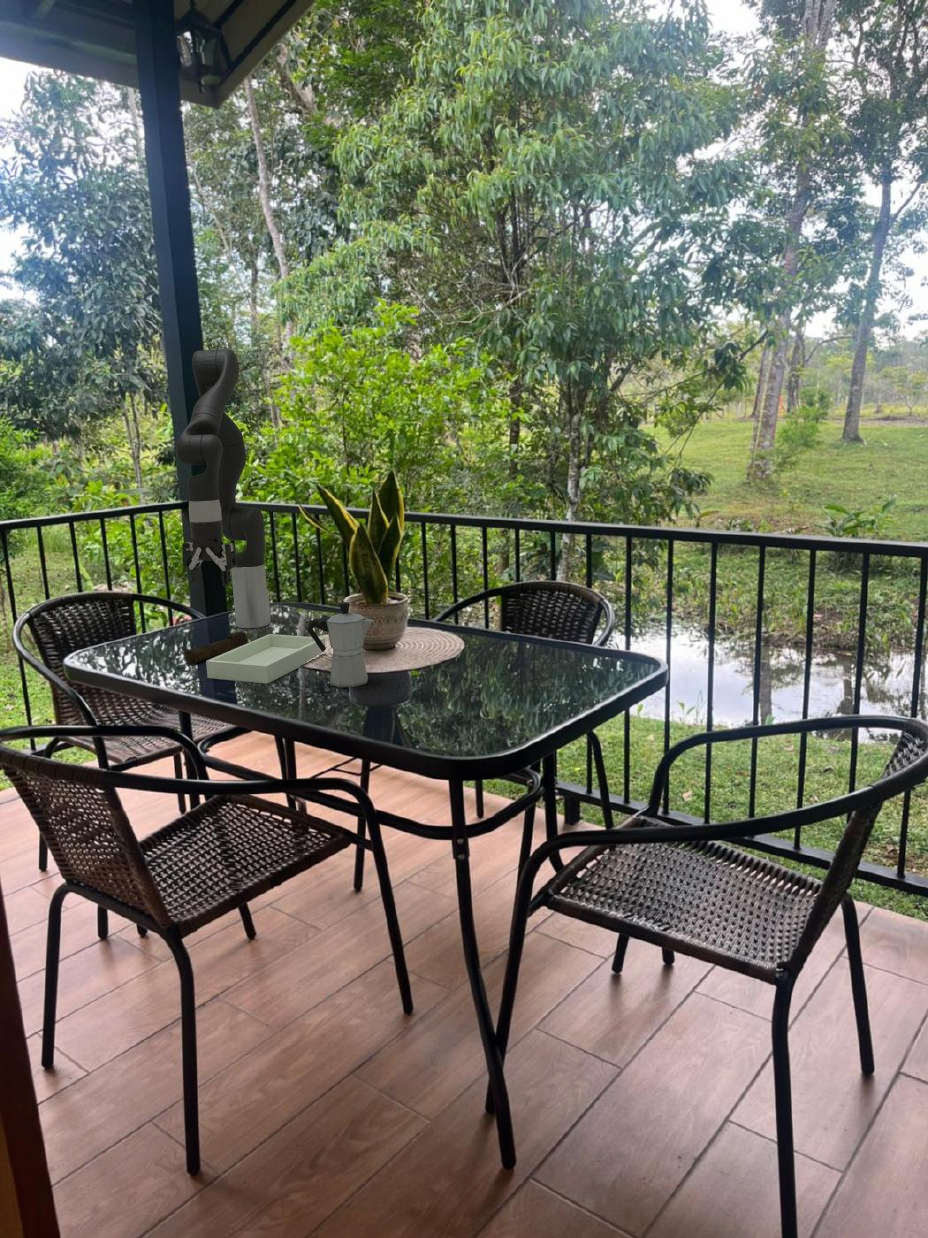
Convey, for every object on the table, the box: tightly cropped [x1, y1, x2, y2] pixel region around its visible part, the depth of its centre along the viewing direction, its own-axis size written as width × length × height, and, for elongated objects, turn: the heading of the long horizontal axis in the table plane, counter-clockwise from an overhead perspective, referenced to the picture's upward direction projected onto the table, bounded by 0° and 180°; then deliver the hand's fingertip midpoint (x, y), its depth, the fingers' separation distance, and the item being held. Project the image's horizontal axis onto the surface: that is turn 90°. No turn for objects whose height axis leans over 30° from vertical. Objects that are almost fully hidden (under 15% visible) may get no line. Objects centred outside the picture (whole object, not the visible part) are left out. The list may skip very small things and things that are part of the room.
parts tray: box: [205, 633, 327, 684], centre depth 221 cm, size 26×16×4 cm, turn 159°
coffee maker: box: [306, 601, 375, 688], centre depth 204 cm, size 15×9×18 cm, turn 89°
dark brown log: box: [184, 631, 249, 665], centre depth 231 cm, size 19×4×5 cm, turn 144°
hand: (211, 584), depth 228 cm, fingers open, 8 cm apart
